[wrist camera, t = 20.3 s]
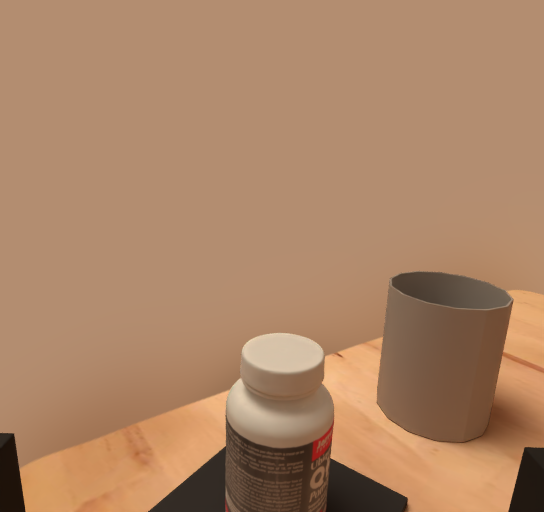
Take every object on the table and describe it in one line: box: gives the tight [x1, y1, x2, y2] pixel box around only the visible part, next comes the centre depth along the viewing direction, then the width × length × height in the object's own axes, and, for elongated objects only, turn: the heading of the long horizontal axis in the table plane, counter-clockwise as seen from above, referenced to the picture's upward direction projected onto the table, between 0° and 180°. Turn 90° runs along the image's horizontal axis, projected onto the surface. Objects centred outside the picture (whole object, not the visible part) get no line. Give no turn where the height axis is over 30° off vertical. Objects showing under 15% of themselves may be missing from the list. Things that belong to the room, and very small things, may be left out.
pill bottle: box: [225, 333, 334, 512], centre depth 20 cm, size 5×5×10 cm
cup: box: [377, 271, 513, 442], centre depth 31 cm, size 8×8×10 cm
